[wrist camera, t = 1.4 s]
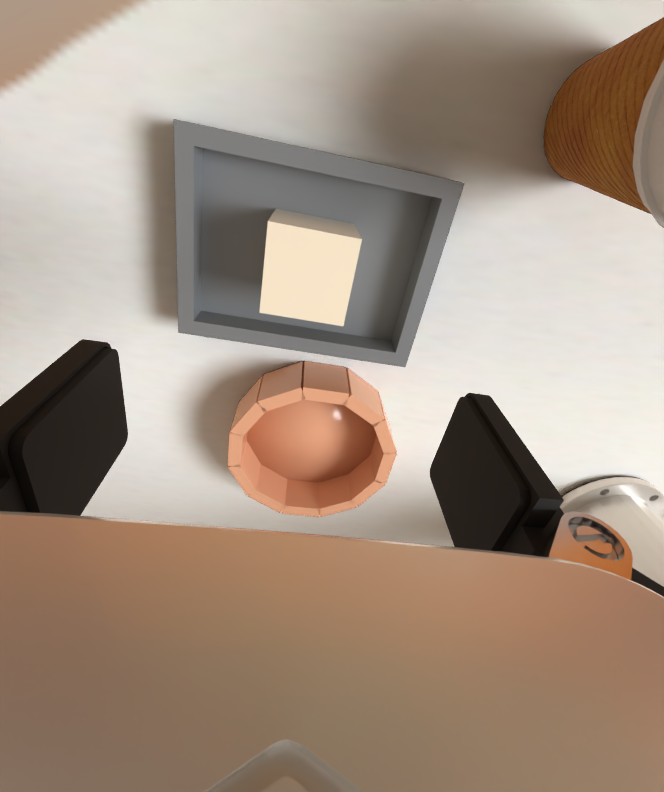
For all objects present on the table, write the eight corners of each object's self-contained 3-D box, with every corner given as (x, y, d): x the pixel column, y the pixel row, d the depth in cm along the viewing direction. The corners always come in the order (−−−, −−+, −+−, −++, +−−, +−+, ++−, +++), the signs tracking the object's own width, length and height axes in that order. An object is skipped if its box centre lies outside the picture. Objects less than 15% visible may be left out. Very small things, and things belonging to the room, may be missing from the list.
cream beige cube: (354, 224, 25) (362, 239, 21) (339, 299, 28) (343, 326, 23) (276, 208, 24) (268, 221, 20) (268, 287, 27) (259, 312, 23)
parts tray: (451, 180, 24) (464, 183, 22) (398, 352, 31) (405, 367, 28) (187, 121, 22) (173, 119, 20) (188, 319, 29) (178, 332, 26)
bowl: (404, 375, 32) (414, 402, 28) (367, 489, 38) (372, 522, 35) (242, 351, 30) (232, 377, 27) (233, 474, 37) (225, 507, 33)
